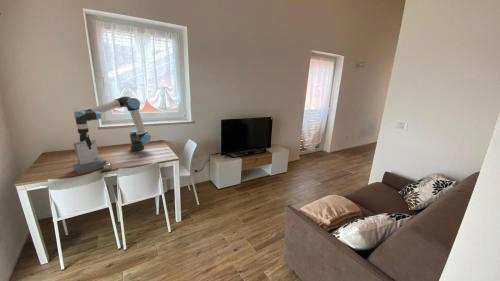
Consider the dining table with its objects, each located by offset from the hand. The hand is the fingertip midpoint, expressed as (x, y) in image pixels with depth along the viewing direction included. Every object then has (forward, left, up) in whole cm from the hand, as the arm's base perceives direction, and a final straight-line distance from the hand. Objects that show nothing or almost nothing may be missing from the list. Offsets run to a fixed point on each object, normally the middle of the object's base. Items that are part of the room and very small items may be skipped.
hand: (87, 150), depth 191 cm
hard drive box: (0, -2, -12) cm, 12 cm away
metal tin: (-9, +14, -18) cm, 24 cm away
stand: (0, 0, -18) cm, 18 cm away
